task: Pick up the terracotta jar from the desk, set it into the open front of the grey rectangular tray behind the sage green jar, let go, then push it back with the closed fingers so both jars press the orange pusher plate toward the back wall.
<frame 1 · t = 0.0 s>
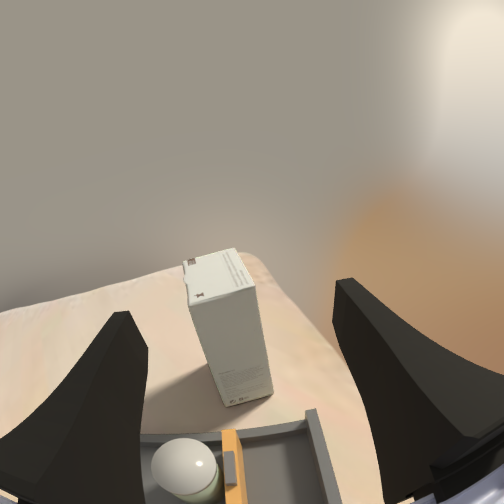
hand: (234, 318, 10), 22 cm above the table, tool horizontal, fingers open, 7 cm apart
skincare box: (240, 376, 34), on the table
grey rectangular tray: (187, 487, 21), on the table
pusher: (234, 475, 20), point 3 cm above the table, slide at 0.0 cm
loaded jar: (201, 485, 21), point 1 cm above the table, touching grey rectangular tray
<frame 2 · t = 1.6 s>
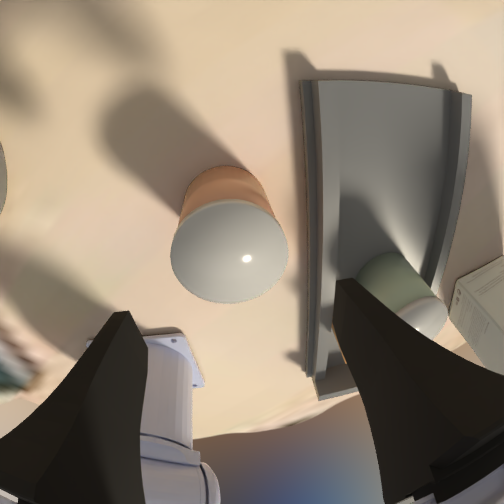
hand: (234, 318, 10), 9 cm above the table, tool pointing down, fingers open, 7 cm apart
skincare box: (477, 282, 25), on the table
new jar: (225, 205, 18), on the table
grey rectangular tray: (381, 259, 22), on the table
pusher: (387, 331, 22), point 3 cm above the table, slide at 0.0 cm
loaded jar: (382, 279, 22), point 1 cm above the table, touching grey rectangular tray
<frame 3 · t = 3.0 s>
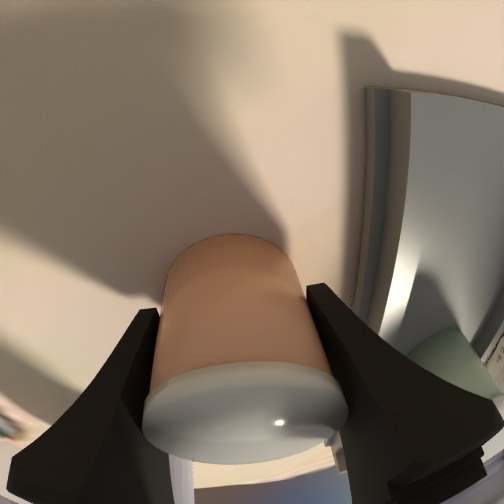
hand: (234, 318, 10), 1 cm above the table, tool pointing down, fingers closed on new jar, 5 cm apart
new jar: (232, 292, 11), on the table, touching gripper
grey rectangular tray: (433, 334, 15), on the table
loaded jar: (430, 356, 15), point 1 cm above the table, touching grey rectangular tray
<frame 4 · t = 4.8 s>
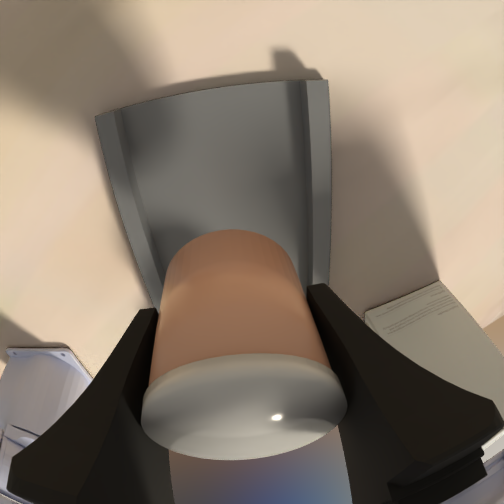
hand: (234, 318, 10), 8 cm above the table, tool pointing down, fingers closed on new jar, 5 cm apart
skincare box: (403, 312, 24), on the table
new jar: (230, 287, 11), point 7 cm above the table, touching gripper
grey rectangular tray: (240, 291, 20), on the table
when the fingers open (2 cm above the table, at t = 7.1 s): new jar stays where it is, resting on grey rectangular tray.
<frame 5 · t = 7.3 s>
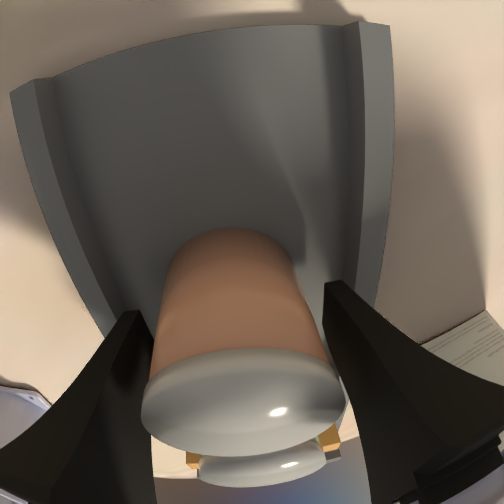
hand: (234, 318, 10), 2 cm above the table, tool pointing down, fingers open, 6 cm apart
skincare box: (441, 348, 18), on the table
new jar: (231, 285, 11), point 1 cm above the table, touching grey rectangular tray
grey rectangular tray: (243, 341, 14), on the table
pusher: (260, 435, 14), point 3 cm above the table, slide at 0.0 cm
loaded jar: (248, 368, 15), point 1 cm above the table, touching grey rectangular tray
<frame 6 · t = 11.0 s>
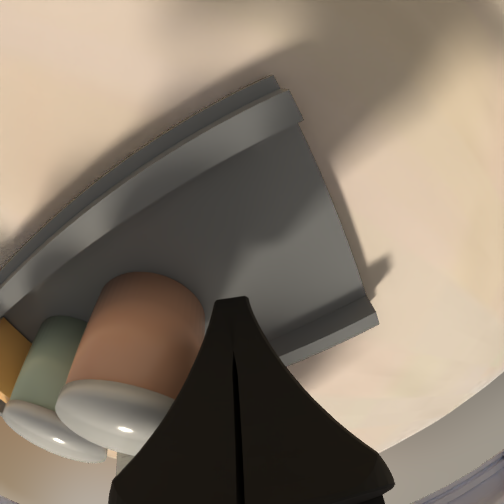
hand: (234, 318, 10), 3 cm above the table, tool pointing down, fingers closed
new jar: (150, 316, 13), point 1 cm above the table, touching gripper, grey rectangular tray
grey rectangular tray: (97, 332, 14), on the table
pusher: (37, 394, 12), point 3 cm above the table, slide at 0.0 cm
loaded jar: (78, 348, 14), point 1 cm above the table, touching grey rectangular tray
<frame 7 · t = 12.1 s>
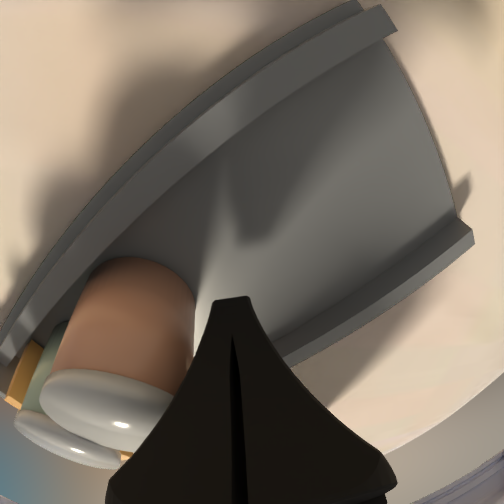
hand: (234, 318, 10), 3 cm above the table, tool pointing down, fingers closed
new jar: (138, 304, 12), point 1 cm above the table, touching gripper, loaded jar
grey rectangular tray: (178, 304, 13), on the table
pusher: (74, 411, 13), point 3 cm above the table, slide at 4.2 cm, touching loaded jar
loaded jar: (92, 353, 14), point 1 cm above the table, touching grey rectangular tray, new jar, pusher
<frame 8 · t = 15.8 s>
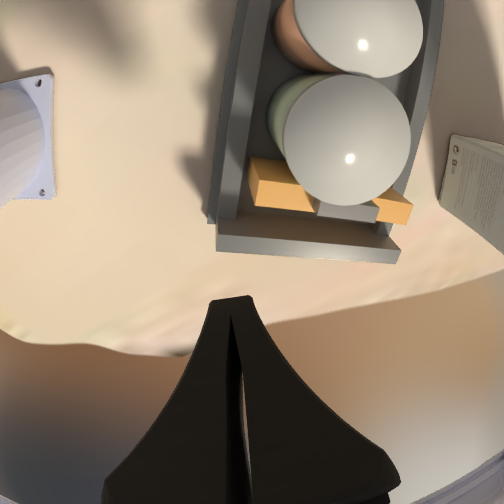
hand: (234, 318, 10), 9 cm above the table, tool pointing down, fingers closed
skincare box: (475, 170, 18), on the table
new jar: (317, 31, 12), point 1 cm above the table, touching grey rectangular tray, loaded jar
grey rectangular tray: (344, 28, 13), on the table
pusher: (332, 191, 15), point 3 cm above the table, slide at 4.2 cm
loaded jar: (311, 117, 15), point 1 cm above the table, touching grey rectangular tray, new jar
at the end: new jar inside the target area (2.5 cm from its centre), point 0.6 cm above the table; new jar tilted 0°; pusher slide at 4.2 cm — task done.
